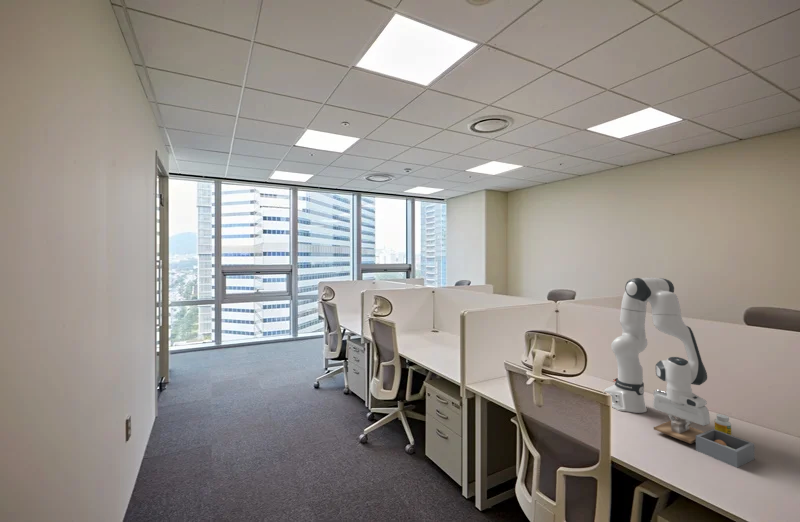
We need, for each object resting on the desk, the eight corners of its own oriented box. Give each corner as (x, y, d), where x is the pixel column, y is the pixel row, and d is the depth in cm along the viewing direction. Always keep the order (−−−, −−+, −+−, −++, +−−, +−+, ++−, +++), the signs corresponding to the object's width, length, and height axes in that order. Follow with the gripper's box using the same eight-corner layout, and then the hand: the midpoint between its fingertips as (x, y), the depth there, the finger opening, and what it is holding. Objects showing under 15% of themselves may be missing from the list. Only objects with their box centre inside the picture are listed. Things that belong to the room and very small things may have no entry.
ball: (711, 448, 142) (711, 438, 142) (716, 446, 144) (716, 436, 143) (723, 453, 138) (723, 443, 138) (728, 451, 140) (728, 441, 140)
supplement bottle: (716, 433, 156) (716, 412, 156) (733, 438, 151) (732, 416, 151) (713, 437, 153) (712, 415, 153) (729, 442, 148) (729, 420, 148)
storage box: (695, 452, 141) (695, 435, 141) (713, 445, 146) (713, 428, 146) (737, 470, 129) (736, 451, 129) (754, 461, 134) (754, 443, 134)
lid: (653, 429, 155) (653, 418, 155) (671, 422, 161) (671, 411, 161) (690, 443, 142) (690, 431, 142) (708, 435, 148) (708, 423, 148)
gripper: (649, 389, 160) (650, 419, 160) (703, 405, 141) (704, 439, 141) (657, 387, 162) (658, 416, 162) (711, 402, 144) (712, 435, 144)
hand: (680, 427), depth 152 cm, fingers closed on lid, 3 cm apart
